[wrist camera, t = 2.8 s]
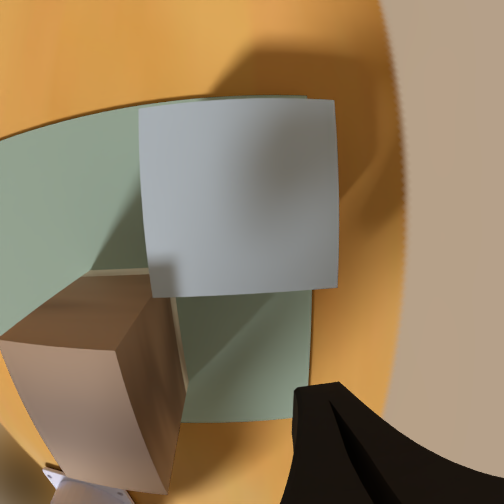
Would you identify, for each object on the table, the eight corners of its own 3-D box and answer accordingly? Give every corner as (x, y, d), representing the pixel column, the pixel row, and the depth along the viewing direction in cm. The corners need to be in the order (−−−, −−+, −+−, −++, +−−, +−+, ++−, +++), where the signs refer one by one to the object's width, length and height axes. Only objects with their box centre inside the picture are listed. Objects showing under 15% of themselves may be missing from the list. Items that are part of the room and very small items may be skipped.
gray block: (301, 248, 13) (337, 287, 8) (182, 254, 13) (152, 297, 8) (297, 129, 12) (334, 100, 7) (174, 135, 12) (138, 108, 7)
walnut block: (188, 381, 14) (167, 495, 8) (115, 379, 14) (66, 476, 7) (171, 266, 13) (115, 350, 6) (90, 270, 13) (-4, 339, 6)
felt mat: (304, 412, 16) (305, 416, 15) (28, 399, 15) (26, 402, 15) (305, 97, 12) (307, 95, 12) (-26, 152, 11) (-29, 152, 11)
